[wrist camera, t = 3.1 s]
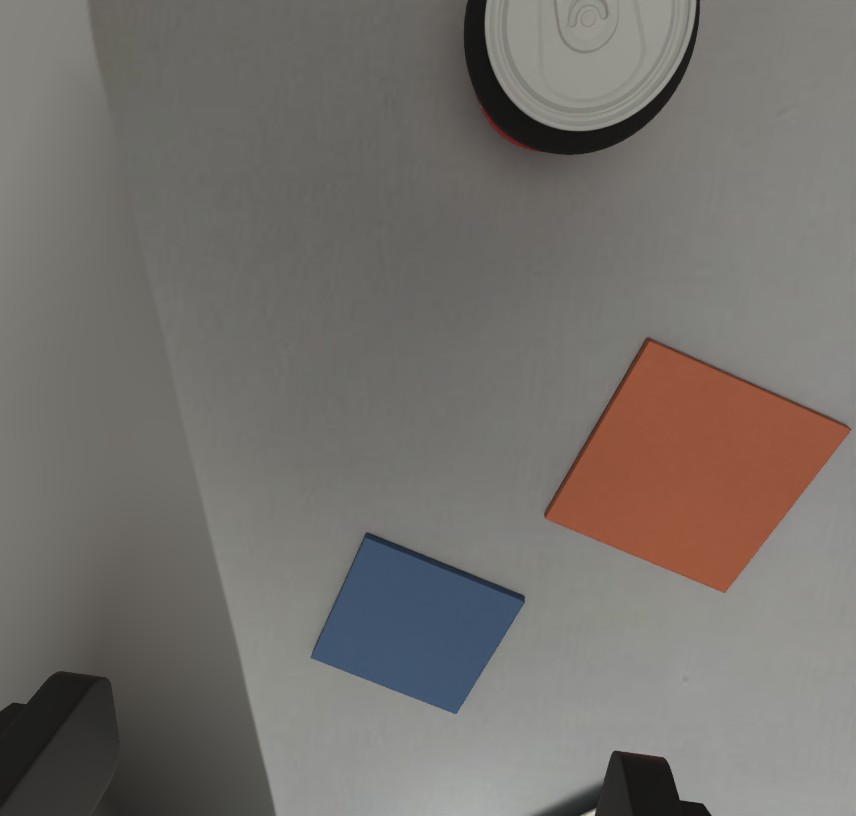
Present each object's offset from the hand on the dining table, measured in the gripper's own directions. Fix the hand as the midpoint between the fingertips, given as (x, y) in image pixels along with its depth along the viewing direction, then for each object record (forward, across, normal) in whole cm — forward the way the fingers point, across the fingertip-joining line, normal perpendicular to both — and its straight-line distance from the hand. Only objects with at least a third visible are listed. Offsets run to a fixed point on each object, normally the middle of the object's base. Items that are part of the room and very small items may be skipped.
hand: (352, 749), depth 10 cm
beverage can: (+24, -3, -12) cm, 27 cm away
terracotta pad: (+23, -13, +6) cm, 27 cm away
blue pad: (+23, 0, +18) cm, 30 cm away
